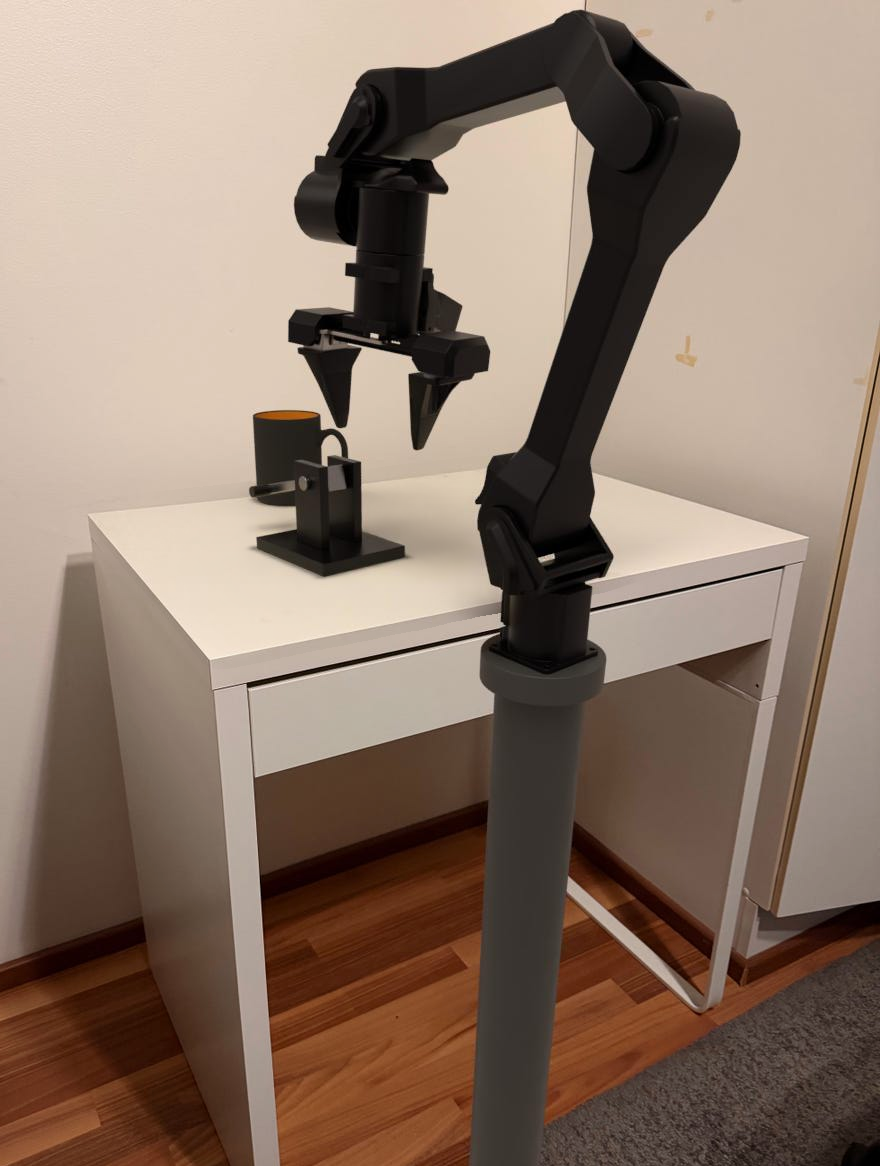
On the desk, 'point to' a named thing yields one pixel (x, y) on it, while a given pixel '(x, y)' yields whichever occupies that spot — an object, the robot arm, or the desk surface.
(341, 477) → the tap lever
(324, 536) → the black stand
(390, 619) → the desk surface
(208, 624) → the desk surface
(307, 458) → the mug
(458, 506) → the desk surface
